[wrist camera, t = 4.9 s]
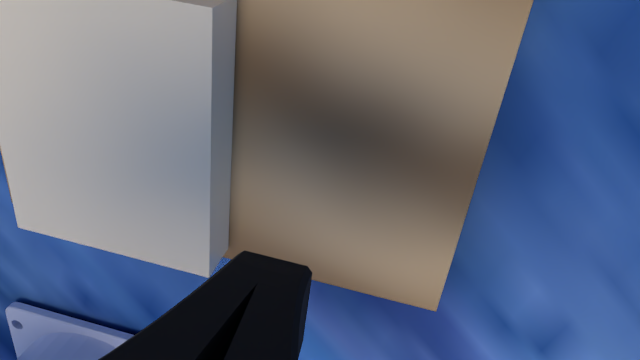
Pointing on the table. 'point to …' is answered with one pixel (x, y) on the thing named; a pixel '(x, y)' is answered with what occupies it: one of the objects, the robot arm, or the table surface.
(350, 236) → the cork board
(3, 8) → the tile
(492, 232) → the table surface
